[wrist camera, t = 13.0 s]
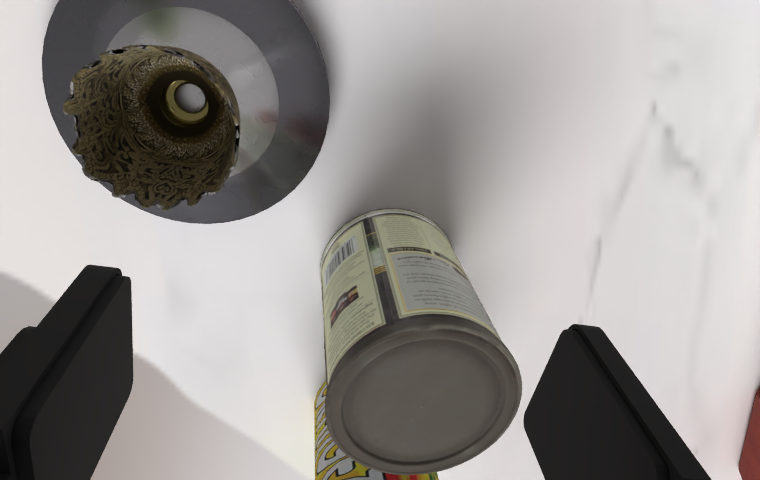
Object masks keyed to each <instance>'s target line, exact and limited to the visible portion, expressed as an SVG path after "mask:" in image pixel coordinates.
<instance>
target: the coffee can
mask: <svg viewBox="0 0 760 480" xmlns="http://www.w3.org/2000/svg"><path fill="white" fill-rule="evenodd" d="M320 279H321V284H322V300H323V322H324V349H325V365H326V383H327V391H326V397H325V419H326V424H327V428H328V431H329V433H330V436H331V438H332V439H333V441H334V442H335V444H336V445H337V446H338V447H339V449H340V450H341V451H342V452H343V453H345V454H346V455H347V456H348V457H350V458H351V459H352V460H354V461H355V462H357V463H359V464H361V465H362V466H364V467H367V468H369V469H372V470H375V471H379V472H383V473H388V474H396V475H420V474H428V473H434V472H438V471H442V470H446V469H449V468H452V467H454V466H457V465H459V464H462V463H464V462H466V461H468V460H470V459H472V458H474V457H475V456H477V455H479V454H480V453H482V452H483V451H484V450H486V449H487V448H489V447H490V446H491V445H492V444H493V443H495V442H496V441H497V440H498V439H499V438H500V437H501V436H502V434H503V433H504V432H505V431H506V430H507V428H508V427H509V425H510V424H511V422H512V421H513V419H514V417H515V415H516V413H517V411H518V407H519V404H520V400H521V396H522V381H521V375H520V371H519V368H518V365H517V363H516V361H515V359H514V358H513V356H512V354H511V353H510V352H509V350H508V349H507V347H506V346H505V345H504V344H503V343H502V341H501V339H500V337H499V335H498V333H497V331H496V330H495V328H494V326H493V324H492V322H491V320H490V318H489V316H488V315H487V313H486V311H485V309H484V307H483V305H482V304H481V302H480V300H479V298H478V296H477V294H476V293H475V291H474V289H473V287H472V285H471V283H470V281H469V280H468V278H467V276H466V274H465V272H464V270H463V268H462V266H461V265H460V263H459V261H458V259H457V257H456V255H455V253H454V252H453V249H452V247H451V244H450V242H449V240H448V238H447V236H446V234H445V233H444V232H443V231H442V230H441V229H440V228H439V227H438V226H437V225H436V224H435V223H434V222H433V221H431V220H430V219H428V218H426V217H425V216H422V215H420V214H418V213H415V212H411V211H406V210H402V209H384V210H376V211H372V212H369V213H366V214H363V215H361V216H359V217H357V218H355V219H353V220H351V221H350V222H348V223H347V224H346V225H344V226H343V227H342V228H341V229H340V230H339V231H338V232H337V233H336V234H335V235H334V236H333V238H332V239H331V240H330V242H329V244H328V245H327V247H326V249H325V252H324V254H323V257H322V261H321V264H320Z"/></svg>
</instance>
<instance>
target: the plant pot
mask: <svg viewBox="0 0 760 480" xmlns="http://www.w3.org/2000/svg"><path fill="white" fill-rule="evenodd" d="M739 472H740V474H741V477H742V480H760V390H759V391H758V393H757V394H756V397H755V402H754V406H753V410H752V414H751V418H750V422H749V426H748V430H747V434H746V439H745V442H744V447H743V451H742V455H741V460H740V464H739Z"/></svg>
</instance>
